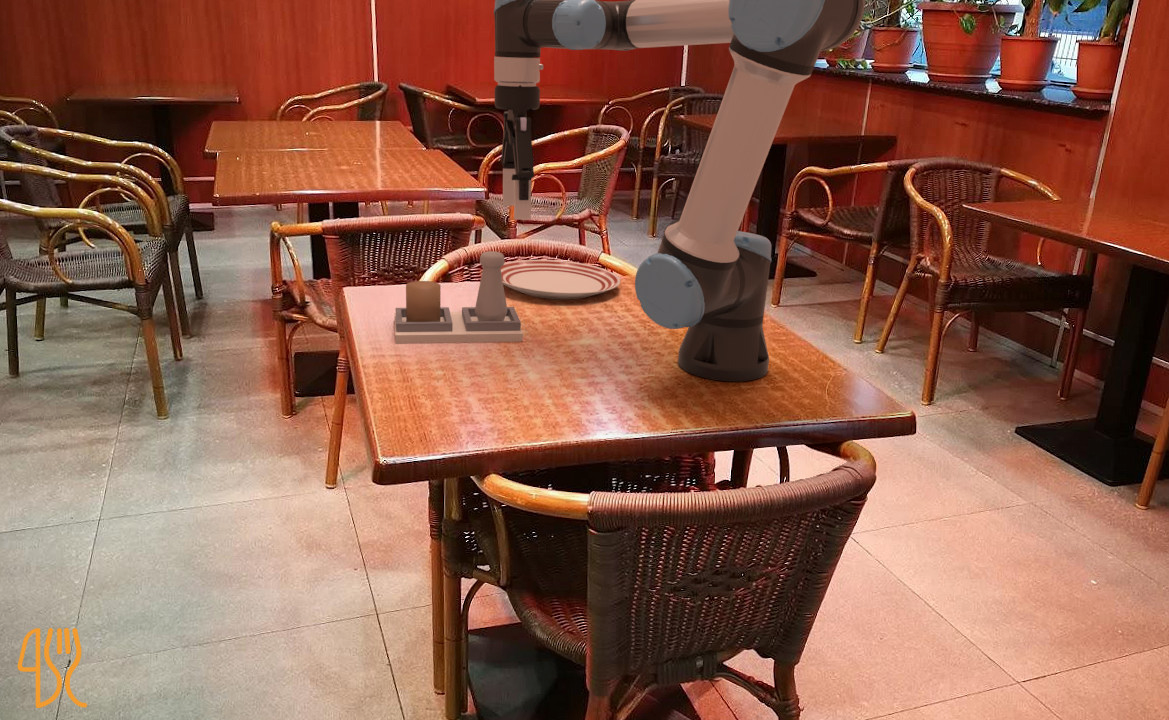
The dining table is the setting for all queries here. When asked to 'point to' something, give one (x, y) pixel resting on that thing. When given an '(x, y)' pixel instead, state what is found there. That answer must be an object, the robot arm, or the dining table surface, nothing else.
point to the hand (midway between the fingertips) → (516, 212)
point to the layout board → (448, 320)
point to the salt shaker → (491, 289)
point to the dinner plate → (557, 279)
